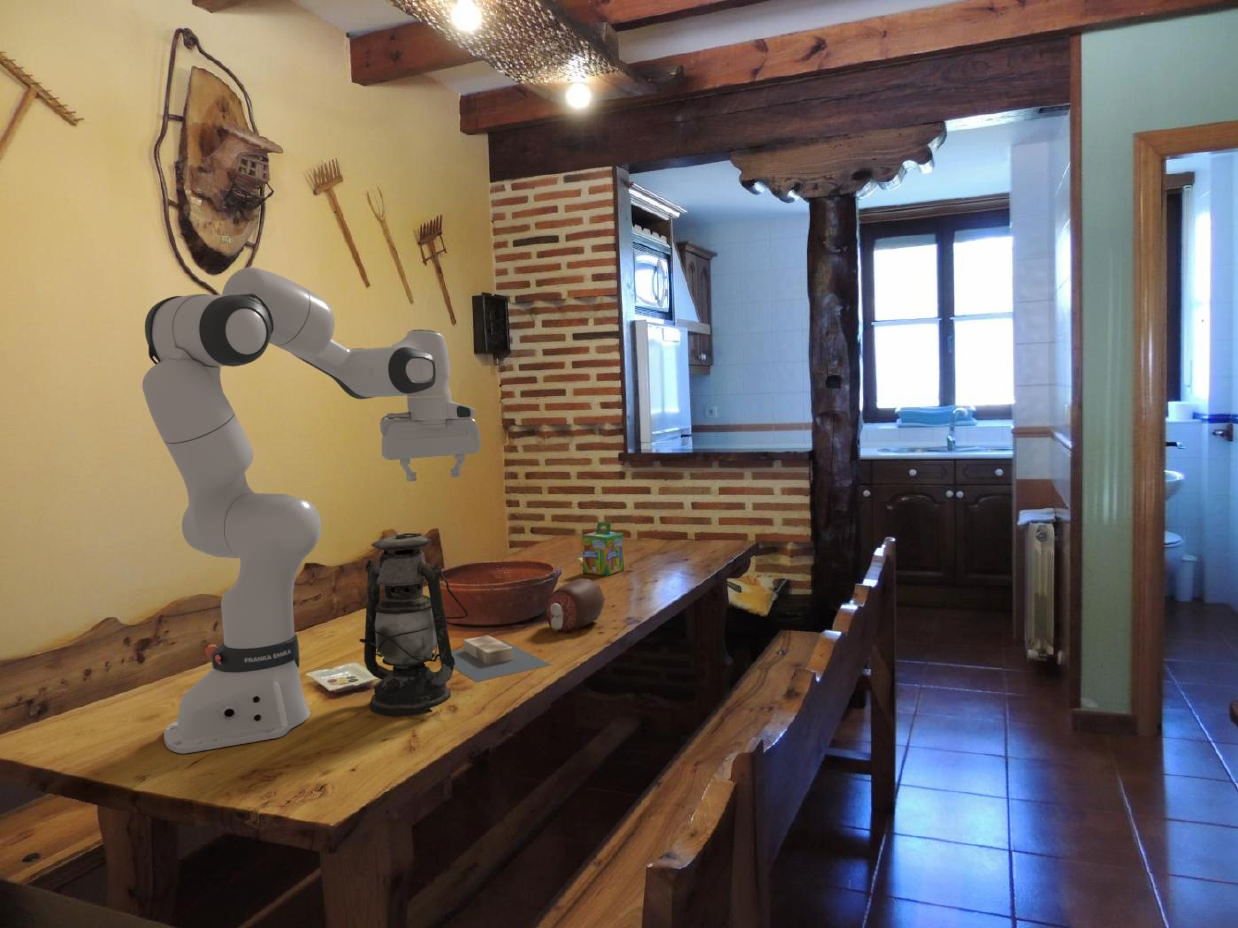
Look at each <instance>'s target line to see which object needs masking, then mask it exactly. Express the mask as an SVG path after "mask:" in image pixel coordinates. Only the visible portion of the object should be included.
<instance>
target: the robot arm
mask: <svg viewBox="0 0 1238 928" xmlns="http://www.w3.org/2000/svg"><path fill="white" fill-rule="evenodd" d="M335 324H336V321H335V315H334V312H333V309H332V307H331V306H330V305H329V304H328V302H326V301H325V300H324V299H323V298H322V297H321V296H319V295H317V294H316V293H314V292H313V291H311V290H310V289H307V288H305V287H304V286H302V285H300V284H298V283H296V282H294V281H292V280H290V279H289V278H286V277H283V276H281V275H278V274H276V273H273V272H270V271H267V270H265V269H261V268H257V267H253V266H252V267H243V268H241V269H239V270H237V271H235V272H234V273H233V274H232V275H230V277H229V278H228V280H227V281H226V282H225V285H224V287H223V289H222V292H221V294H205V293H198V294H189V295H176V296H175V295H174V296H171V297H167V298H165V299H162V300H161V301H159V302H157V303H155V304H154V306H152V307H151V308H150V310H149V311H148V313H147V315H146V317H145V321H144V334H145V335H144V336H145V339H146V343H147V345H148V357H149V359H150V360H151V362H153V364H154V365H152V367H150V368H149V369H148V371H147V372H146V373H145V375H144V377H143V379H142V384H141V385H142V386H141V387H142V392H143V394H144V395H143V396H144V399H145V401H146V405H147V408H148V410H149V413H150V415H151V418H152V421H153V422H154V425H155V427H156V430H157V431H158V434H159V435H160V437H161V439H162V441H163V443H164V445H165V447H166V448H167V450H168V452H169V454H170V456H171V458H172V460H173V461H174V464H175V465H176V467H177V469H178V471H179V473H180V475H181V477H182V479H183V482H184V485H185V488H186V493H187V498H188V506H187V508H186V509H185V511H184V514H183V517H182V518H181V519H182V521H181V530H182V535H183V538H184V540H185V541H186V544H188V545H189V546H190V547H191V548H192V549H194V550H196V551H198V552H201V553H203V554H204V553H205V554H207V555H209V556H213V557H216V558H229V559H239V561H240V565H239V566H240V567H239V572H238V576H237V579H236V582H235V583H234V585H232V586H231V587H229V589H228V590H226V591H225V592H224V594H223V596H222V598H221V601H220V608H221V618H222V619H221V620H222V633H223V634H222V635H223V643H222V644H220V645H219V646H217V645H216V644H212V643H210V644H208V645H206V648H205V650H204V652H205V655H206V656H207V657H208V659H211V665H212V669H211V670H210V671H209V672H208V673H206V674H204V676H203V677H202V678H201V679H200V680H198V681H197V682H196V683H195V684H194V685H193V686H192V687H190V688H189V689H188V690H187V691H186V692H185V693H184V694H183V695H182V698H181V700H180V702H179V707H178V715H177V721H173V722H172V723H171V724H169V725H168V726H167V727H166V728H165V729H164V732H163V741H164V744H165V746H166V748H167V749H168V750H170V751H172V752H175V753H177V754H189V753H197V752H202V751H209V750H213V749H220V748H226V747H232V746H236V745H237V746H238V745H242V744H243V745H244V744H248V743H255V742H261V741H266V740H271V739H278V738H281V737H283V736H285V735H286V734H288V732H289V731H290V730H291V729H293V728H295V727H297V726H299V725H301V724H302V723H304V722H305V721H307V720H308V719H309V717H311V711H310V710H311V709H310V708H309V706H308V702H307V701H306V697H305V695H304V691H303V687H302V682H301V676H300V671H299V668H300V661H301V659H300V658H301V657H300V656H301V655H300V643H299V640H298V635H297V634H296V633H295V622H294V620H295V619H294V587H295V582H296V577H297V575H298V571H299V569H300V567H301V565H302V563H303V561H304V559H305V558H306V557H307V556H308V555H309V554H310V553H311V552H312V551H313V550H314V549H315V547H316V546H317V545H318V542H319V540H320V538H321V535H322V520H321V517H320V513H319V511H318V510H317V508H316V507H315V505H314V504H313V503H311V502H310V501H308V500H306V499H303V498H300V497H296V496H295V495H294V496H293V495H289V494H285V493H258V492H257V493H256V492H254V491H253V490H252V489H251V487H250V486H249V484H248V482H247V477H246V472H247V471H248V470H249V468H250V467H251V465H252V463H253V459H254V449H253V447H252V445H251V443H250V441H249V439H248V437H247V435H246V433H245V431H244V430H243V429H244V428H243V427H242V425H241V423H240V421H239V420H238V417H237V415H236V413H235V411H234V409H233V407H232V405H231V403H230V402H229V400H228V399H227V396H226V395H225V392H224V389H223V387H222V382H221V369H222V367H240V366H245V365H247V364H251V363H253V362H254V361H256V360H258V359H260V357H261V356H262V355H263V354H264V353H265V351H266V350H267V347H268V346H269V344H271V345H273V346H275V347H278V348H279V349H281V350H283V351H286V352H288V353H290V354H291V355H293V356H294V357H296V358H297V359H298V360H301V361H302V362H304V363H306V364H308V365H310V366H311V367H313V368H314V369H317V371H320V372H322V373H323V374H325V375H327V376H328V377H330V378H332V379H333V380H334V381H335V382H336V383H337V385H339V387H340V388H341V389H342V390H343V391H344V392H345V394H347V395H348V396H349V397H352V398H353V399H356V400H366V399H367V400H368V399H373V398H385V397H403V396H405V397H406V400H407V401H406V402H407V412H396V413H395V412H390V413H387V414H386V415H385V416H383V417H381V419H380V423H379V424H380V425H379V426H380V432H381V434H382V437H381V456H382V457H383V458H384V459H385V460H387V461H395V460H396V461H397V460H399V465H400V466H401V468H402V470H403V471H404V472H405V473H406V475H405V476H406V481H407V482H416V481H418V480H417V479H418V478H417V472H415V471H412V470H411V468H410V466H409V465H411V459H421V458H435V457H447V456H454V460H455V461H456V462H455V465H454V467H453V468H450V470H449V471H450V477H451V478H460V477H461V474H462V473H461V469H462V466H463V465H464V462H465V461H466V457H465V456H466V455H473V454H475V455H476V454H479V452H480V451H481V448H482V441H481V432H480V427H479V424H478V422H477V421H476V420H475V419H474V418H475V416H476V409H475V408H473V407H472V406H468V405H464V404H461V403H457V402H454V401H453V399H452V398H453V397H452V392H451V391H452V390H451V389H450V385H449V384H450V377H451V364H450V357H449V356H450V355H449V350H448V348H449V347H448V344H447V341H446V339H445V337H444V335H442V334H441V333H439V332H438V331H435V330H430V329H412V330H409V331H408V332H406V336H405V337H403V338H402V339H401V340H400V341H398V342H396V343H394V344H392V345H391V346H384V347H371V348H364V347H362V348H348V347H346V346H344V345H342V344H341V343H339V342H337V341H335V339H333V336H334V331H335ZM155 359H156V360H157V361H156V360H155Z"/></svg>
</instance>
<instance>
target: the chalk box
mask: <svg viewBox="0 0 1238 928" xmlns="http://www.w3.org/2000/svg"><path fill="white" fill-rule="evenodd" d="M611 524H612V523H610V522H602V521H599V522H597V525H596V531H594V532H591V533H587V534H582V535H581V537H582V540H581V541H582V573H583V574H588V575H597V576H602V577H603V576H604V577H608V576H611V575H613V574H617V573H619V572H624V570H625V562H624V561H625V560H624V559H625V558H624V557H625V556H624V555H625V554H624V552H625V551H624V533H622V532H617V531H611ZM602 527H605V530H602Z"/></svg>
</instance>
